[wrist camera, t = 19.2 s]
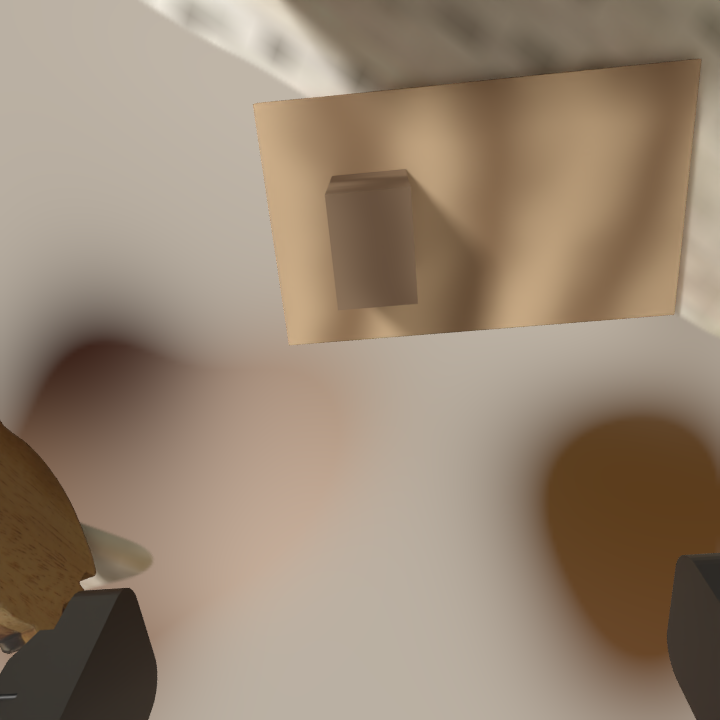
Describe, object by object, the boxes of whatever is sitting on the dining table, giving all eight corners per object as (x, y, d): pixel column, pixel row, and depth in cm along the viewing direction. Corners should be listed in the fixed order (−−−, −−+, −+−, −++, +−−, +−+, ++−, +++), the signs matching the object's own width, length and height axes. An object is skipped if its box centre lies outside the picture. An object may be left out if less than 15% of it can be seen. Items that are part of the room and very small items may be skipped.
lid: (291, 336, 36) (276, 387, 30) (257, 103, 31) (231, 111, 26) (664, 306, 35) (720, 353, 29) (689, 59, 30) (762, 57, 24)
